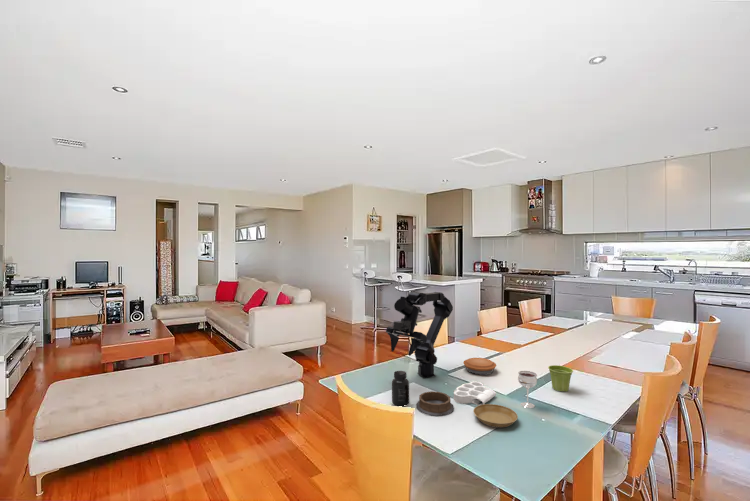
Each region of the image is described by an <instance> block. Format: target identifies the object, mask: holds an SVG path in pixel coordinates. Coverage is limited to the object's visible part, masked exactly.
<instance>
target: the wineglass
mask: <svg viewBox="0 0 750 501" xmlns="http://www.w3.org/2000/svg"><path fill="white" fill-rule="evenodd" d="M537 377H538V374H537V373H536V372H533V371H530V370H529V371H528V370H520V371H518V377H517V380H518V382H519V384H520V385H521V387H524V388H525V389H526V401H524V402H521V403H520V406H521V407H524V408H527V409H534V408H535V404H534V403H532V402H529V392H530V389H531V388H534V387H535V386H536V385H537V383H538V378H537Z"/></svg>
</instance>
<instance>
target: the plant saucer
mask: <svg viewBox="0 0 750 501" xmlns="http://www.w3.org/2000/svg"><path fill="white" fill-rule="evenodd" d="M472 412H473V414H474V415H475V417H476V418H477V419H478V420H479V421H480V422H481V423H482V424H484V425H487V426H489V427H493V428H508V427H509V426H511V425H513V424H514V423H515V422H516V421H517V420H518V418H519V417H518V413H517V412H516V411H515V410H513V409H512V408H509V407H506V406H504V405H500V404H493V403H485V404H483V405H477V406H475V407H474V408H473V411H472Z"/></svg>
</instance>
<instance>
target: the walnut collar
mask: <svg viewBox="0 0 750 501" xmlns="http://www.w3.org/2000/svg"><path fill="white" fill-rule="evenodd" d="M418 399H419V400H418V401H417V402H416V404H415V406H416V410H417V411H418V412H420V413H422V414H424V415H426V416H431V417H432V416H433V417H443V416H448V415H450V414H452V413H453V412H454V410H455V409H454V404H453V403H452V402H451V396H449V394H447V393H444V392H442V391H441V392H440V391H433V390H431V391H426V392H423V393H421V394H419V398H418Z"/></svg>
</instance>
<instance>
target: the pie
mask: <svg viewBox="0 0 750 501" xmlns="http://www.w3.org/2000/svg"><path fill="white" fill-rule="evenodd" d="M462 363H463V365H464V367H465V368H466V369H467V371H468V372H469V371H470V372H469V373H471V372H472V373H471V374H473V373H475V374H474V375H478V374H481V376H487V375H490V374H492V373H493V371H494V369H495V368H496V367H497V363H496V362H494V361H492V360H491V359H488V358H484V357H470V358H467V359H465V360H464V361H463V362H462ZM486 374H487V375H486Z"/></svg>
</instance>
